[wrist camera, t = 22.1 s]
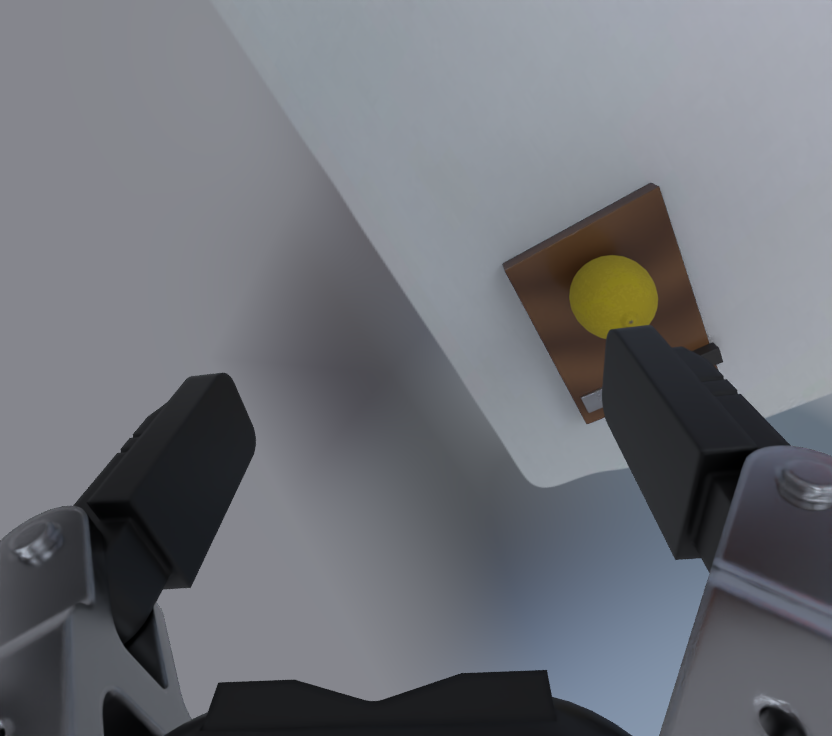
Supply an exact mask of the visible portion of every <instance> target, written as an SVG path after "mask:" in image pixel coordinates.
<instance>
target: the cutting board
mask: <svg viewBox="0 0 832 736" xmlns="http://www.w3.org/2000/svg"><path fill="white" fill-rule="evenodd" d="M608 255H616V256H623V257H626V258H629V259H631V260H633V261H635V262H637V263H638V264H639V265H641V266H642V267H643V268H644V269H646V271H647V272H648V273H649V275H650V276H651V278H652V280H653V281H654V283H655V286H656V290H657V294H658V306H657V311H656V313H655V316H654V318H653V320H652V321H651V323H650V324H649V325H651V326H653V327H654V328H655V329H656V330H657V331H658V332H659V334H660V335H661V336H662V337H663V338H664V339H665V340H666V342H667V343H668V344H669V345H670V346H671V347H681V346H683V347H685V348H686V349H688V350H690V351H693V350H696V349H698V348H700V347H703V346H705V345H708V344H710V343H709V340H708V337H707V334H706V331H705V328H704V325H703V322H702V319H701V315H700V312H699V309H698V306H697V303H696V300H695V297H694V294H693V290H692V287H691V284H690V281H689V278H688V275H687V272H686V269H685V266H684V262H683V259H682V256H681V253H680V250H679V247H678V244H677V241H676V237H675V234H674V231H673V228H672V225H671V222H670V219H669V216H668V213H667V209H666V206H665V203H664V200H663V197H662V194H661V191H660V188H659V186H657V185H655V184H653V183H649V184H648V185H646V186H644V187H642V188H640V189H638V190H637V191H635V192H633V193H631V194H629V195H627V196H626V197H624V198H622V199H620V200H618V201H616V202H615V203H613V204H611V205H609V206H607V207H605V208H604V209H602V210H600V211H598V212H596V213H594V214H593V215H591V216H589V217H587V218H585V219H583V220H582V221H580V222H578V223H576V224H574V225H572V226H571V227H569V228H567V229H565V230H563V231H561V232H560V233H558V234H556V235H554V236H552V237H550V238H549V239H547V240H545V241H543V242H541V243H539V244H538V245H536V246H534V247H532V248H530V249H529V250H527V251H525V252H523V253H521V254H519V255H518V256H516V257H514V258H512V259H510V260H508V261H507V262H505V263H503V264H502V265H503V267H504V270H505V272H506V274H507V276H508V278H509V280H510V281H511V283H512V285H513V287H514V289H515V291H516V293H517V295H518V296H519V298H520V300H521V302H522V304H523V306H524V308H525V310H526V311H527V313H528V315H529V317H530V319H531V321H532V323H533V325H534V326H535V328H536V330H537V332H538V334H539V336H540V338H541V340H542V341H543V343H544V345H545V347H546V349H547V351H548V353H549V355H550V356H551V358H552V360H553V362H554V364H555V366H556V368H557V370H558V371H559V373H560V375H561V377H562V379H563V381H564V383H565V385H566V386H567V388H568V390H569V392H570V394H571V396H572V398H573V400H574V401H575V403H576V405H577V407H578V409H579V411H580V413H581V415H582V416H583V418H584V420H585V422H586V424H589V423H592V422H594V421H597V420H599V419H602V418H604V417H605V415H604V411H603V407H602V408H600V409H598V410H595V411H593V412H590V413H588V411H587V409H586V407H585V405H584V403H583V401H582V399H581V397H580V396H583V395H585V394H587V393H590V392H592V391H594V390H597V389H599V388H601V387H602V385H603V372H604V359H605V346H606V339H604V338H600V337H598V336H596V335H594V334H592V333H590V332H589V331H587V330H586V329H585V328H584V327H583V326H582V325H581V324H580V323H579V322H578V321H577V319H576V317H575V315H574V313H573V312H572V309H571V305H570V300H569V293H570V286H571V283H572V281H573V278H574V276H575V275H576V274H577V272H578V271H579V270H580V269H581V268H582V267H583V266H584V265H585V264H586V263H588V262H590V261H591V260H593V259H596V258H598V257H601V256H608ZM714 367H715V368H716V369H717V370H718V368H717V365H714Z"/></svg>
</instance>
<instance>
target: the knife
mask: <svg viewBox="0 0 832 736" xmlns="http://www.w3.org/2000/svg"><path fill="white" fill-rule="evenodd" d="M692 352H694V353H696V354H698V355H700V356H702V357H704V358H706V359H708V360H709V361H710V362H711V364H712V365H713V366H714V365H717V364H719V363H722V362H723V360H722V356H721V353H720V350H719V348H718V347H717V346H716V345H715V344H714V343H713V342H712V343H710V344H708V345H705V346H703V347H700V348H698V349H696V350H693V351H692ZM580 397H581V399H582V401H583V403H584V405H585V407H586V409H587V411H588V413H590V412H593V411H595V410H598V409H600V408H602V407H603V405H602V387H601V388H599V389H597V390H594V391H592V392H590V393H587V394H585V395H583V396H580Z"/></svg>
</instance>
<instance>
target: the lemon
mask: <svg viewBox="0 0 832 736" xmlns="http://www.w3.org/2000/svg"><path fill="white" fill-rule="evenodd" d="M569 300H570V305H571V309H572V312H573V313H574V315H575V317H576V319H577V321H578V322H579V323H580V324H581V325H582V326H583V327H584V328H585V329H586V330H587V331H589V332H590V333H592V334H594V335H596V336H598V337H600V338H604V339H606V338H607V334H608V332H609V330H611V329H618V328H627V327H635V326H644V325H649V324H650V323H651V321H652V320H653V318H654V316H655V313H656V311H657V306H658V294H657V290H656V286H655V283H654V281H653V280H652V278H651V276H650V275H649V273H648V272H647V271H646V269H644V268H643V267H642V266H641V265H639V264H638V263H637V262H635V261H633V260H631V259H629V258H626V257H623V256H616V255H608V256H601V257H598V258H596V259H593V260H591V261H590V262H588V263H586V264H585V265H584V266H583V267H582V268H581V269H580V270H579V271H578V272H577V274H576V275H575V276H574V278H573V281H572V283H571V286H570V293H569Z"/></svg>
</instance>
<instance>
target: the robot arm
mask: <svg viewBox="0 0 832 736" xmlns="http://www.w3.org/2000/svg"><path fill="white" fill-rule="evenodd" d="M602 405H603V411H604V415H605V419H606V421H607V424H608V426H609V428H610V430H611V432H612V434H613V436H614V438H615V440H616V442H617V444H618V446H619V448H620V450H621V452H622V454H623V456H624V458H625V460H626V462H627V464H628V466H629V468H630V470H631V472H632V474H633V476H634V478H635V480H636V482H637V484H638V486H639V488H640V490H641V491H642V494H643V496H644V497H645V499H646V502H647V504H648V506H649V508H650V510H651V512H652V514H653V516H654V518H655V520H656V522H657V524H658V526H659V528H660V530H661V532H662V534H663V536H664V538H665V540H666V542H667V544H668V546H669V548H670V550H671V552H672V554H673V556H674V558H675V559H676V560H678V559H694V558H702V560H703V562H704V564H705V566H706V567H707V569H708V571H709V573H710V574H709V577H708V580H707V583H706V586H705V589H704V593H703V596H702V599H701V603H700V606H699V609H698V612H697V615H696V619H695V622H694V626H693V628H692V631H691V635H690V638H689V641H688V644H687V648H686V651H685V654H684V657H683V660H682V664H681V667H680V670H679V673H678V677H677V680H676V683H675V686H674V689H673V693H672V696H671V699H670V702H669V706H668V709H667V712H666V715H665V719H664V722H663V725H662V728H661V731H660V735H659V736H832V456H830V455H828V454H825V453H822V452H818V451H815V450H812V449H807V448H803V447H795V446H791V445H790V444H789V443H788V442H786V440H785V439H784V438H783V437H782V436H781V435H780V434H779V433H778V432H777V431H776V430H775V429H774V428H773V427H772V426H771V425H770V424H769V423H768V422H767V421H766V420H765V419H764V417H763V416H762V415H761V414H760V413H759V412H758V411H757V410H756V409H755V408H754V407H753V406H752V405H751V404H750V403H749V402H748V401H747V400H746V399H745V398H744V397H743V396H742V395H741V394H738V393H737V389H736V388H735V387H734V386H733V385H732V384H731V383H730V382H729V381H728V380H727V379H726V380H724V378H723V375H722V374H721V373H720V372H719V371H718V370H717V369H716V368H715V367H714V366H713V365H712V364H711V362H710V361H709V360H708V359H706V358H704V357H702V356H700V355H698V354H696V353H694V352H692V351H690V350H688V349H686V348H685V347H683V346H681V347H671V346H670V345H669V344H668V343H667V342H666V340H665V339H664V338H663V337H662V336H661V335H660V334H659V332H658V331H657V330H656V329H655V328H654V327H653V326H651V325H644V326H635V327H627V328H618V329H611V330H609V332H608V334H607V338H606V346H605V359H604V372H603V385H602ZM255 446H256V436H255V431H254V427H253V425H252V423H251V420H250V418H249V416H248V413H247V411H246V409H245V406H244V404H243V402H242V400H241V397H240V395H239V393H238V391H237V388H236V386H235V383H234V382H233V380H232V378H231V377H230V376H229V375H228V374H226V373H217V374H207V375H199V376H191V377H189V378H187V379H186V380H185V381H184V383H183V384H182V385H181V386H180V388H179V389H178V390H177V391H176V392H175V394H174V395H173V396H172V397H171V399H170V400H169V401H168V402H167V403H166V404H164V405H163V406H162V407H160V408H159V409H158V410H156V411H155V412H154V413H152V414H151V415H150V416H148V417H147V418H146V419H145V421H144V422H143V423H142V424H141V425H140V427H139V428H138V429H137V430H136V431H135V432H134V434H133V438H129V440H128V441H127V442H126V443H125V444H124V446H123V447H122V448H121V453H117V454H116V455H115V456H114V458H113V459H112V460H111V461H110V462H109V464H108V465H107V466H106V467H105V468H104V470H103V471H102V472H101V473H100V475H99V476H98V477H97V478H96V479H95V480H94V482H93V483H92V484H91V485H90V487H88V489H87V490H86V491H85V492H84V493H83V495H82V496H81V497H80V498H79V499H78V501H77V502H76V503H75V504H74V505H73V506H62V507H58V508H54V509H51V510H48V511H45V512H43V513H41V514H39V515H36V516H34V517H32V518H31V519H29V520H27V521H26V522H24V523H22V524H21V525H19V526H18V527H16V528H15V529H13V530H12V531H11V532H10V533H8V534H7V535H6V536H5V537H4V538H3V539H2V540H0V736H632V735H630V734H629V733H628V732H626V731H625V730H623V729H622V728H620V727H619V726H618V725H616V724H614V723H613V722H611V721H609V720H607V719H606V718H604V717H602V716H600V715H599V714H597V713H595V712H593V711H591V710H589V709H586V708H584V707H581V706H579V705H576V704H574V703H572V702H569V701H565V700H562V699H558V698H554V697H552V695H551V690H550V684H549V679H548V674H547V670H535V671H509V672H483V673H461V674H458V675H455V676H452V677H449V678H446V679H443V680H440V681H437V682H434V683H431V684H428V685H426V686H422V687H419V688H416V689H413V690H410V691H407V692H404V693H402V694H399V695H395V696H393V697H390V698H387V699H384V700H380V701H366V700H362V699H359V698H355V697H352V696H349V695H345V694H342V693H338V692H335V691H331V690H328V689H324V688H321V687H318V686H314V685H311V684H307V683H304V682H300V681H297V680H274V681H249V682H222V683H218V685H217V688H216V691H215V694H214V697H213V699H212V702H211V705H210V708H209V711H208V712H207V713H205V714H203V715H201V716H198V717H196V718H194V719H191V717H190V715H189V713H188V711H187V709H186V707H185V704H184V702H183V698H182V695H181V691H180V686H179V682H178V677H177V673H176V668H175V664H174V659H173V655H172V651H171V647H170V641H169V637H168V633H167V628H166V624H165V619H164V615H163V612H162V609H161V608H160V606H159V605H158V604H157V603H156V601H157V599H158V597H159V595H160V593H161V592H162V590H163V589H175V588H191V586H192V584H193V582H194V580H195V577H196V575H197V573H198V571H199V569H200V567H201V565H202V563H203V561H204V558H205V556H206V554H207V552H208V550H209V548H210V546H211V543H212V541H213V539H214V537H215V535H216V533H217V531H218V529H219V527H220V525H221V523H222V520H223V518H224V516H225V514H226V512H227V510H228V508H229V506H230V504H231V501H232V499H233V497H234V495H235V493H236V491H237V489H238V487H239V485H240V482H241V480H242V478H243V476H244V474H245V472H246V470H247V468H248V465H249V463H250V461H251V459H252V457H253V455H254V451H255Z"/></svg>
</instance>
